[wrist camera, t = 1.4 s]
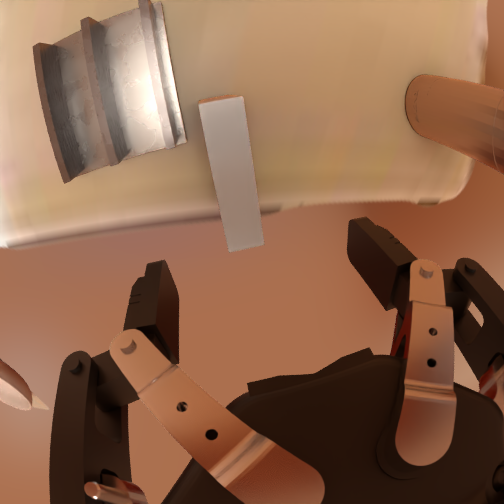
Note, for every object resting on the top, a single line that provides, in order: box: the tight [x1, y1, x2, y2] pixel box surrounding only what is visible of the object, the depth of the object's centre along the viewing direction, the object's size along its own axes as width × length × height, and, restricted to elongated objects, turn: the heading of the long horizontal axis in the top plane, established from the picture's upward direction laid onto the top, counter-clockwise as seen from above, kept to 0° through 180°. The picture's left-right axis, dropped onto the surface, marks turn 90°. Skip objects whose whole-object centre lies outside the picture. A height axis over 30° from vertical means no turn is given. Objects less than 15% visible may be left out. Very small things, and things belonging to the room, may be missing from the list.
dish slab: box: [198, 95, 264, 253], centre depth 24 cm, size 3×12×10 cm, turn 8°
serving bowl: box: [0, 360, 32, 410], centre depth 39 cm, size 21×21×7 cm
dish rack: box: [33, 0, 187, 184], centre depth 19 cm, size 13×16×5 cm
